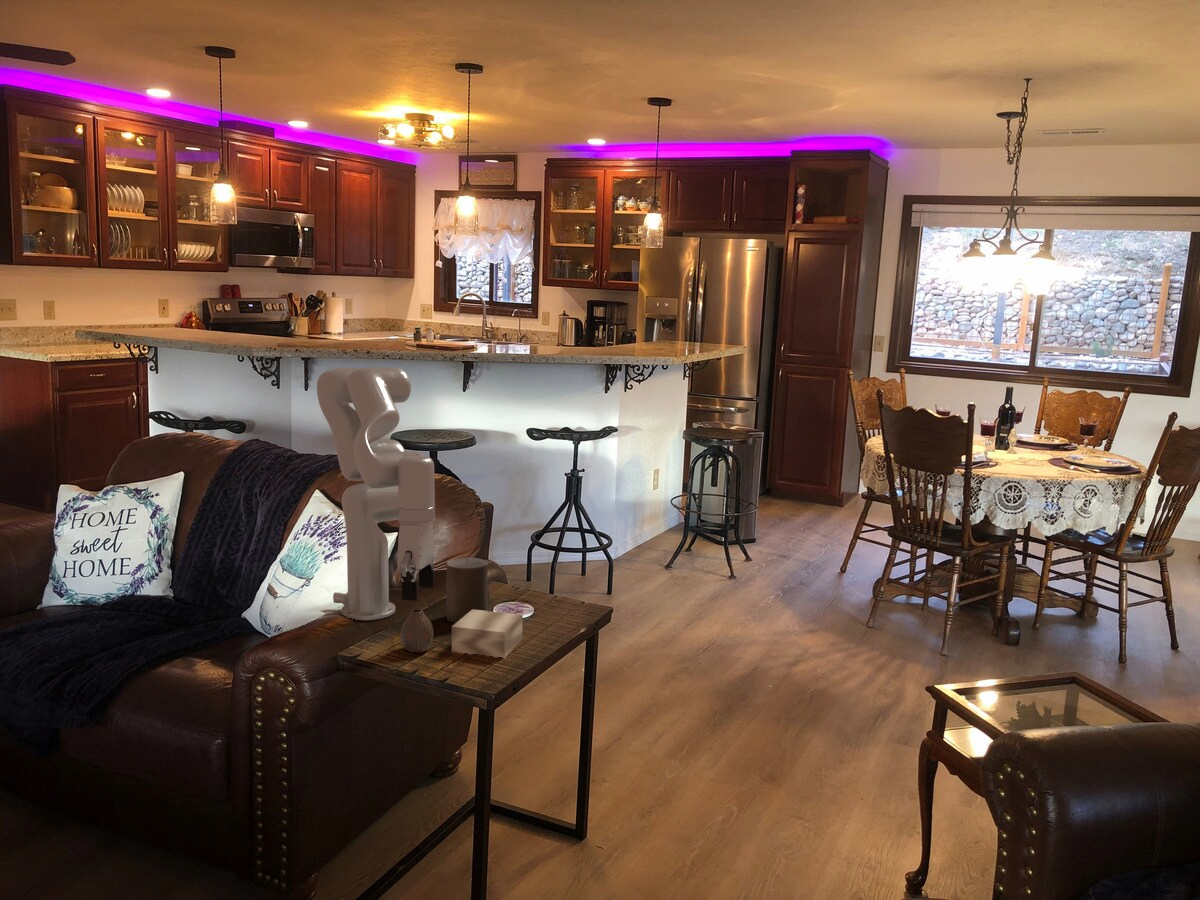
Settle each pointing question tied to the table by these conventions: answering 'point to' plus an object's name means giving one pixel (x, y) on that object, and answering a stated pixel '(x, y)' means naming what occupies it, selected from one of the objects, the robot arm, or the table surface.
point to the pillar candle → (466, 587)
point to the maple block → (487, 633)
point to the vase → (417, 632)
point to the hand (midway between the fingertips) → (418, 593)
